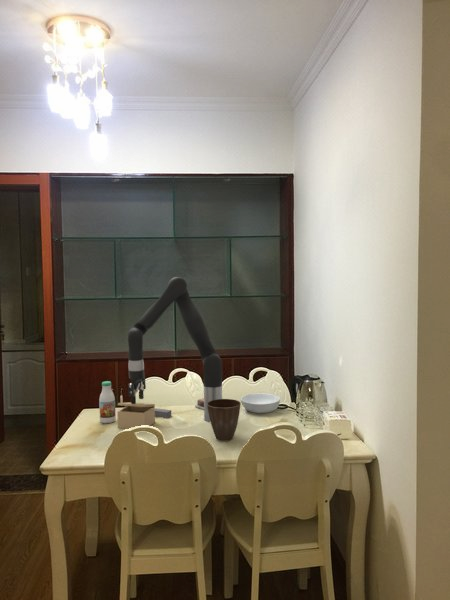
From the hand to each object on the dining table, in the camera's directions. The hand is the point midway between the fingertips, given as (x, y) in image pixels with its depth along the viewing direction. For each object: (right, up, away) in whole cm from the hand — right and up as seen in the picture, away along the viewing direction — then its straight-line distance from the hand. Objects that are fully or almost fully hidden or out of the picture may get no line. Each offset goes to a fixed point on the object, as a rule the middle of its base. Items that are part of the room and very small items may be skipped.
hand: (137, 401), depth 238 cm
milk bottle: (-16, -11, +6) cm, 20 cm away
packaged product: (+36, -10, +24) cm, 44 cm away
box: (0, -11, -1) cm, 11 cm away
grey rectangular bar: (+8, -11, +13) cm, 19 cm away
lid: (0, -2, -1) cm, 2 cm away
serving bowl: (+62, -9, +19) cm, 66 cm away
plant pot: (+43, -12, -22) cm, 50 cm away
